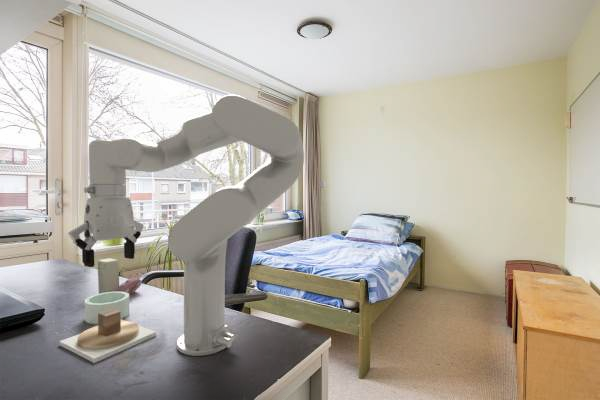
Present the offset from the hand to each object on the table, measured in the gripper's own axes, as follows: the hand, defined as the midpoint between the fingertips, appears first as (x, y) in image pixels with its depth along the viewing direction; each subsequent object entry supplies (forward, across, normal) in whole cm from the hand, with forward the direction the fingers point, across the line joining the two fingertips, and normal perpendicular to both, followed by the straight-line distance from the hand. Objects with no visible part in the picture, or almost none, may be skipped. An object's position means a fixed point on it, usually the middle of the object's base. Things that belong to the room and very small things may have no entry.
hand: (110, 262), depth 78 cm
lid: (+18, 0, +1) cm, 19 cm away
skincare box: (+19, +19, +35) cm, 44 cm away
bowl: (+19, +8, +16) cm, 26 cm away
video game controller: (+20, +22, +28) cm, 41 cm away
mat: (+20, 0, +1) cm, 20 cm away
